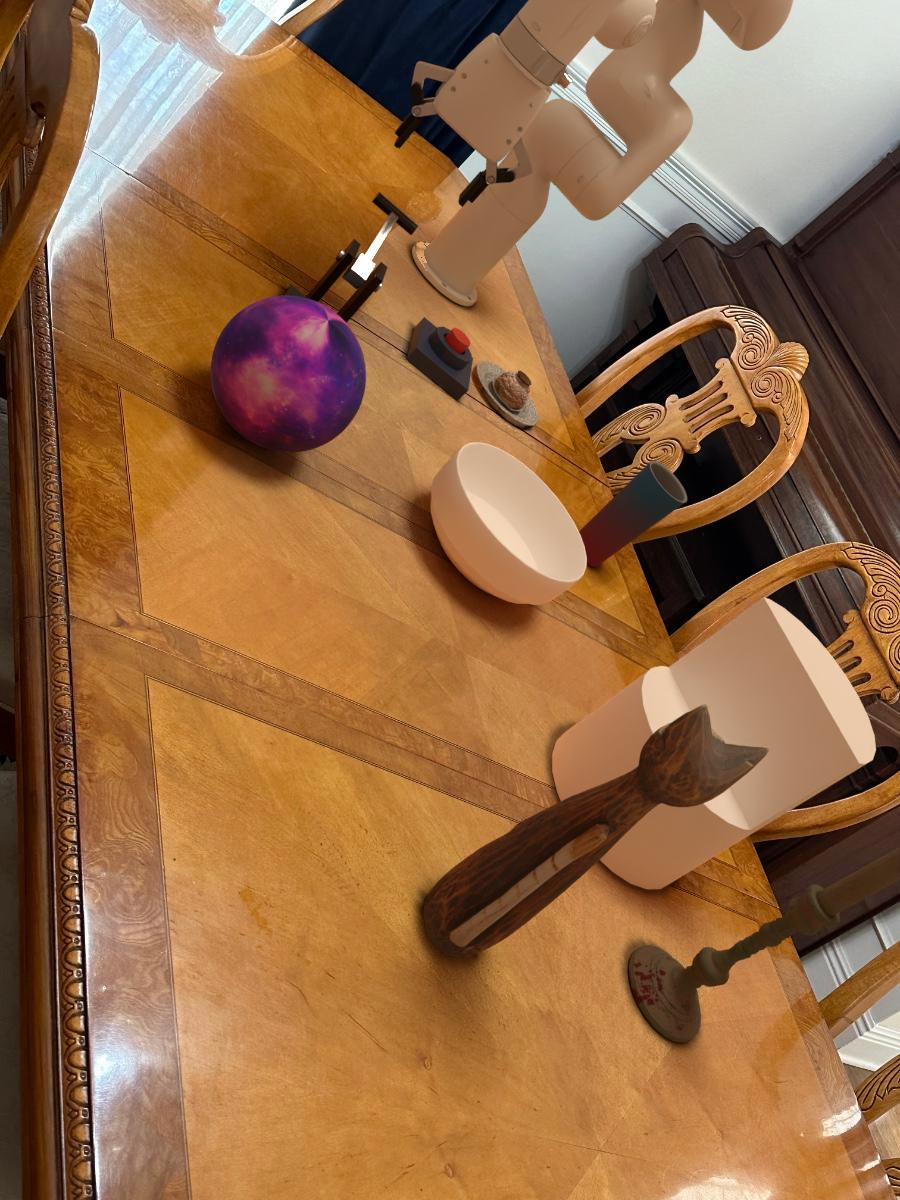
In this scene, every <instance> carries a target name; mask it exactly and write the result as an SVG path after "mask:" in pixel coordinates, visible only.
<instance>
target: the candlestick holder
mask: <svg viewBox="0 0 900 1200" xmlns="http://www.w3.org/2000/svg"><path fill="white" fill-rule="evenodd" d="M898 881H900V846H899V847H896V848H895V849H894V850H892V851H890V852H888V853H886V854H884V855H883V856H881V857H878V858H877V859H875V860H874V861H872V862H870V863H869V864H867V865H865V866H863V867H861V868H859V869H858V870H856V871H854V872H852V873H851V874H849V875H847V876H845V877H844V878H841V879H840V880H838V881H836V882H834V883H832V884H831V885H829V886H826V887H825V888H824V887H822V886H821V885H819V884H817V883H816V884H815V883H814V884H810V885H809V886H808V887H807V888H806V889H805V894H804V896H797V897H794V898H792V899H791V900H790V901H789V902H788V904H787V910H786V916H782V917H776V919H773V920H771V921H767V922H764V923H762V925H761V926H760V927H759V929H758V930H757V931H755V932H753V933H752V934H751V935H748V936H746V937H745V938H743V939H741V940H740V939H739V940H738V941H737V942H736V943H734V944H733V945H732V946H731V947H730V948H727V949H721V950H717V949H716V948H714V947H712V946H704V947H703V948H701V949H700V950H699V952H698V953H696V954H695V956H694V957H693V959H692V962H691V965H688V966H687V967H684V965H683V964H682V963H680V962H679V961H678V960H677V959H676V958H674V957H673V956H672V955H671V954H669V952H667V951H665V950H664V949H662V948H660V947H659V946H656V945H652V944H649V945H641V946H639V947H637V948H636V949H635V950H633V952H632V954H631V956H630V958H629V961H628V962H629V963H628V979H629V984H630V989H631V992H632V995H633V996H634V999H635V1001H636V1005H637V1006H638V1007H639V1009H640V1011H641V1013H642V1014H643V1016H644V1017H645V1019H646V1020H647V1021H648V1023H649V1024H650V1025H651V1027H653V1029H655V1030H656V1031H657V1032H658V1033H659V1034H661V1035H662V1037H664V1038H666V1039H667V1040H670V1041H672V1042H675V1043H680V1044H683V1043H687V1042H688V1043H689V1042H690V1041H692V1040H693V1039H694V1038H695V1037H696V1036H697V1035H698V1033H699V1031H700V1029H701V1026H702V1025H701V1024H702V1011H701V1005H700V997H699V993H698V992H699V991H698V989H700V988H701V987H702V986H705V987H707V988H713V987H719V986H723V985H725V984H727V982H728V981H729V979H730V971H731V969H732V968H733V967H734V966H735V965H736V963H738V962H740V961H743V960H744V961H745V960H746V959H750V958H751V957H752V956H753V955H757V954H758V953H759V952H761V951H764V950H765V949H767V948H775V947H778V946H779V945H780V944H782V942H783V941H785V940H786V939H789V938H791V936H792V934H793V933H795V932H798V933H800V934H802V935H804V936H814V935H815V934H817V933H818V932H819V931H820V930H821V928H822V927H825V928H829V929H831V928H836V927H837V926H838V925H839V924H840V922H841V915H840V913H841V912H843V911H845V910H846V909H848V908H850V907H852V906H854V905H856V904H857V903H860V902H861V901H864V900H865V899H867V898H869V897H871V896H873V895H874V894H876V893H878V892H880V891H882V890H884V889H886V888H887V887H889V886H891V885H892V884H894V883H896V882H898Z"/></svg>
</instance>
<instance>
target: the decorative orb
mask: <svg viewBox="0 0 900 1200" xmlns="http://www.w3.org/2000/svg"><path fill="white" fill-rule="evenodd" d="M213 347H214V348H213V351H212V355H211V360H210V383H211V389H212V393H213V396H214V397H213V398H214V399H215V402H216V405H217V407H218V409H219V410H220V412H221V414H222V416H223V417H224V419H225V421H227V423H228V424H229V425H230V426H231V428H232V429H234V430H235V432H237V433H238V434H239V435H240V436H241V437H242V438H244V439H245V440H247V441H249V442H250V443H252V444H254V445H255V446H258V447H260V448H263V449H265V450H269V451H272V452H280V453H288V454H289V453H301V452H308V451H312V450H314V449H317V448H320V447H322V446H324V445H326V444H328V443H331V441H333V440H334V439H336V438H337V437H338V436H340V435H341V434H342V433H343V432H344V431H345V430H346V429H347V428H348V427H349V425H351V423H352V421H353V420H354V419H355V417H356V415H357V413H358V411H359V410H360V407H361V405H362V402H363V399H364V397H365V396H364V395H365V391H366V384H367V368H366V362H365V361H366V360H365V355H364V352H363V350H362V346H361V344H360V342H359V340H358V338H357V336H356V335H355V333H354V332H353V330H352V329H351V327H350V326H349V324H348V323H346V322H345V321H344V320H343V319H342V318H341V317H340V316H339V315H337V312H335V311H334V310H332V309H331V308H330V307H328V306H327V305H325V304H323V303H320V301H319V302H316V301H314V300H311V299H307V298H303V297H298V296H283V295H274V296H270V297H266V298H262V299H260V300H257V301H255V302H253V303H251V304H249V305H247V306H245V307H244V308H243V309H240V311H239V312H237V313H236V314H235V315H234V316H233V317H232V318H230V320H229V321H228V322H227V323H226V325H225V326H224V328H223V329H222V330H221V332H220V334H219V335H218V337H217V340H216V342H215V345H214V346H213Z"/></svg>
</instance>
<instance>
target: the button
mask: <svg viewBox="0 0 900 1200" xmlns="http://www.w3.org/2000/svg"><path fill="white" fill-rule="evenodd" d="M450 330H451V331H450V332H449V333H448V334H447V335H446V336H445V337H444V338H445V340H446V342H447V343H448V345H449V346H450V347H451V348H452V349H453V350H455V351H456V352H457V353H459V354H462V353H463V352H464V351H465V350H466V349H467V348H469V347H470V346H471V340H470V338H469V337H468V335H467V334H465V332H464V331H462V330H461V329H459V328H458V327H452V328H451V329H450Z"/></svg>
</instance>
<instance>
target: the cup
mask: <svg viewBox="0 0 900 1200" xmlns="http://www.w3.org/2000/svg"><path fill="white" fill-rule="evenodd" d="M647 463H648V464H646V465H645V466H644V467H643V468H642V469H641V470H640V471H639V472H638V473H637V474H636V475H635V476H634V477H633V478H632V479H631V480H629V482H627V484H626V485H625V486H623V488H621V490H619V492H618V493H616V495H614V496H613V497H612V498H611V499H610V501H608V502H607V503H606V504H605V505H603V507H602V508H601V509H600V510H599V511H598V512H597V513H596V514H595V515H594V516H593V517H592V518H591V519H590V520H589V521H588V522H587V523H585V525H584V526H583V527H582V528H581V529H580V530H578V531H579V533H580V535H581V538H582V541H583V544H584V547H585V551H586V557H587V565H586V566H589V567H592V568H597V567H598V566H600V565H601V564H603V563H604V562H605V561H607V560H608V559H609V558H611V557H612V556H613V555H615V554H616V553H618V552H619V551H620V550H622V549H623V548H625V547H626V546H627V545H629V544H631V543H632V542H633V541H635V540H636V539H637V538H639V537H640V536H642V535H643V534H644V533H645V532H647V531H648V530H649V529H651V528H653V527H654V526H655V525H656V524H658V523H659V522H661V521H662V520H664V519H665V518H666V517H668V516H669V515H670V514H671V513H673V512H674V511H675V510H677V509H679V508H680V507H681V506H683V505H684V504H686V503H687V501H688V495H687V492H686V489H685V488H684V486H683V485H682V483H681V482H680V480H679V479H678V478H677V476H676V475H675V474H674V473H673V472H672V471H671V470H670V469H669V468H668V467H667V466H666V465H664V464H663V463H661V462H659V461H657V460H649V462H647Z"/></svg>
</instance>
